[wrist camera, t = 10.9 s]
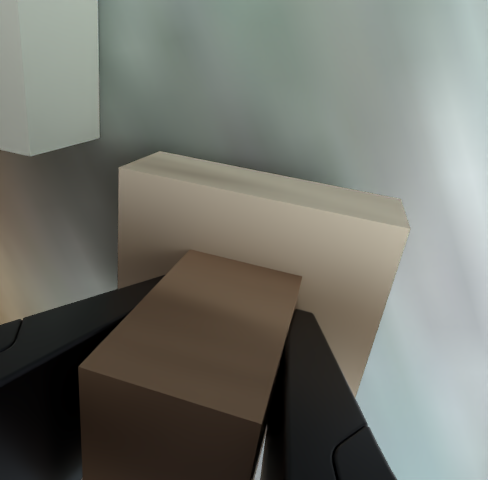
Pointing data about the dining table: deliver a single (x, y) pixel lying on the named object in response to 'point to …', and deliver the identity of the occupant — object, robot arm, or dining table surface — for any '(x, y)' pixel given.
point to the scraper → (226, 311)
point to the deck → (48, 74)
